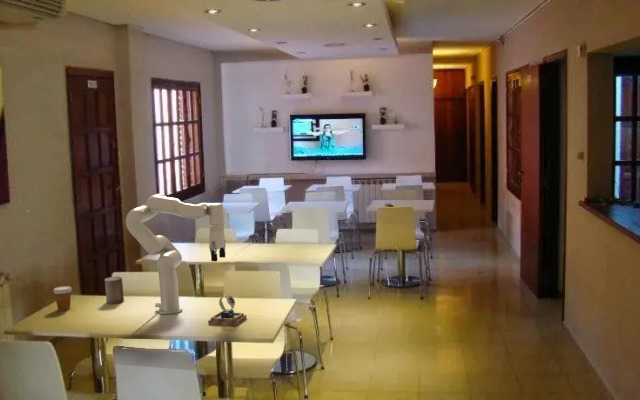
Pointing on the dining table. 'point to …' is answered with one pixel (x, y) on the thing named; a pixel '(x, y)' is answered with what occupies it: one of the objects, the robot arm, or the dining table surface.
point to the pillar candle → (114, 290)
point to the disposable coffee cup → (63, 297)
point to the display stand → (227, 319)
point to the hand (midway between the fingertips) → (218, 259)
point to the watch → (227, 312)
